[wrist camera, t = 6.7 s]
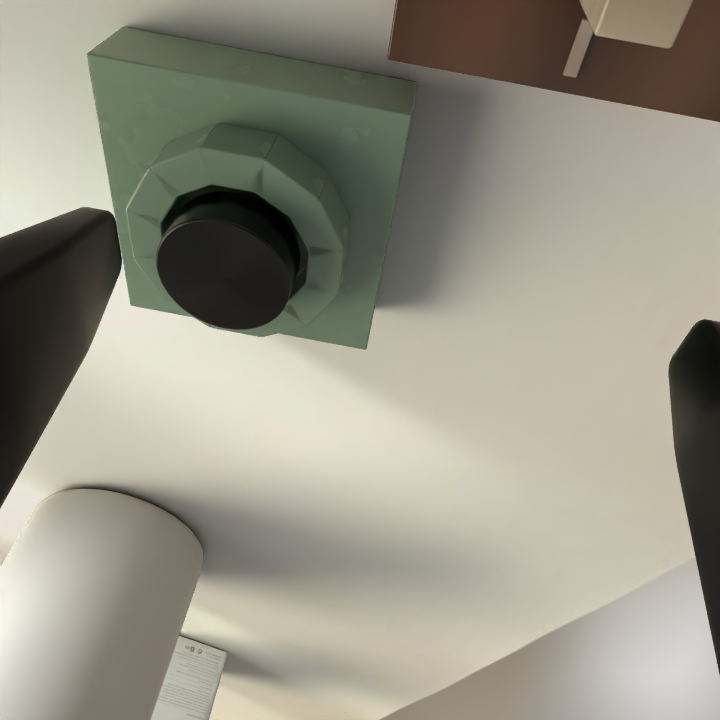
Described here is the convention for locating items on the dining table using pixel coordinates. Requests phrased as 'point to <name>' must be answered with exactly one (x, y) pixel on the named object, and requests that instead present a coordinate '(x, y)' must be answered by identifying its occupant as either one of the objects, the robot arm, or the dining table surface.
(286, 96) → the button box
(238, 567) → the dining table surface
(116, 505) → the cylinder vase
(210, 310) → the button
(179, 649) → the small box
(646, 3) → the beige long block
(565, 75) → the dial panel
